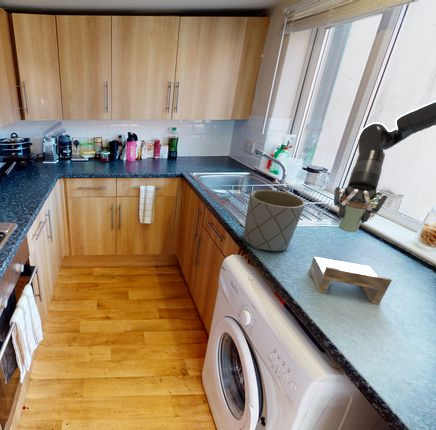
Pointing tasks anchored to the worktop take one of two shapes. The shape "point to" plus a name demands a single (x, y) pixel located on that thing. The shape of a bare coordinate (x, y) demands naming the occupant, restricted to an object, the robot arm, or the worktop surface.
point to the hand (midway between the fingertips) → (351, 219)
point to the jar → (352, 216)
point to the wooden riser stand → (348, 277)
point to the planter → (272, 219)
